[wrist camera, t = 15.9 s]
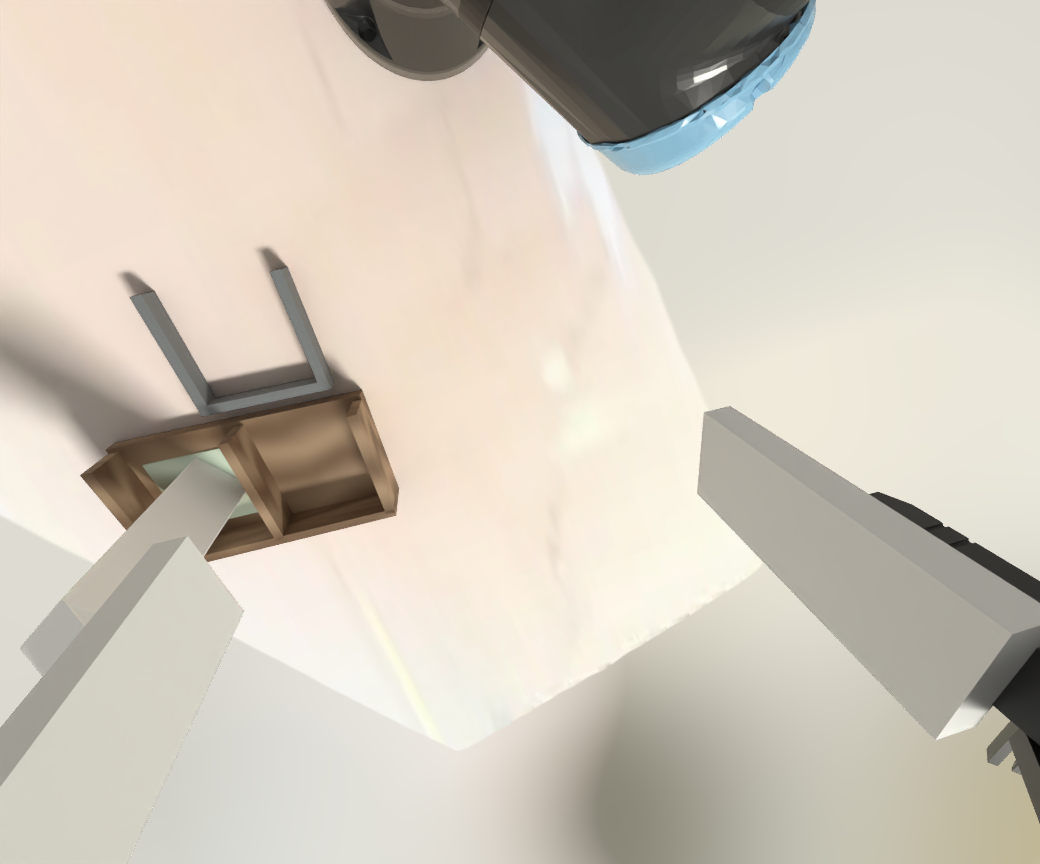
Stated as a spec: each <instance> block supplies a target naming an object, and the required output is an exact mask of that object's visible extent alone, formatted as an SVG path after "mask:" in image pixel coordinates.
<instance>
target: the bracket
mask: <svg viewBox="0 0 1040 864" xmlns="http://www.w3.org/2000/svg"><path fill="white" fill-rule="evenodd" d="M270 273H271V276H272V278H273V280H274V283H275V285H276V287H277V290H278V292H279V294H280V297H281V299H282V301H283V304H284V306H285V308H286V311H287V313H288V315H289V318H290V320H291V322H292V325H293V327H294V329H295V332H296V334H297V336H298V339H299V341H300V343H301V346H302V348H303V350H304V353H305V355H306V357H307V360H308V362H309V364H310V367H311V369H312V371H313V374H314V376H315V378H310V379H305V380H300V381H295V382H291V383H286V384H281V385H276V386H271V387H267V388H262V389H257V390H252V391H247V392H243V393H238V394H233V395H228V396H223V397H219V398H216V397H215V396H214V394H213V392H212V390H211V389H210V387H209V385H208V383H207V382H206V380H205V378H204V376H203V375H202V373H201V371H200V369H199V368H198V366H197V364H196V363H195V361H194V359H193V357H192V356H191V354H190V352H189V350H188V349H187V347H186V345H185V343H184V342H183V340H182V338H181V336H180V335H179V333H178V331H177V329H176V328H175V326H174V324H173V323H172V321H171V319H170V317H169V316H168V314H167V312H166V310H165V309H164V307H163V305H162V303H161V302H160V300H159V298H158V296H157V295H156V293H155V291H153V292H148V293H142V294H139V295H135V296H132V297H130V299H131V301H132V302H133V304H134V306H135V307H136V309H137V311H138V312H139V314H140V315H141V317H142V319H143V320H144V322H145V324H146V325H147V327H148V329H149V330H150V332H151V334H152V335H153V337H154V338H155V340H156V342H157V343H158V345H159V347H160V348H161V350H162V352H163V353H164V355H165V357H166V358H167V360H168V361H169V363H170V365H171V366H172V368H173V370H174V371H175V373H176V375H177V376H178V378H179V380H180V381H181V383H182V384H183V386H184V388H185V389H186V391H187V393H188V394H189V396H190V398H191V399H192V401H193V403H194V404H195V406H196V407H197V409H198V411H199V412H200V414H201V416H207V415H212V414H217V413H221V412H226V411H231V410H235V409H240V408H245V407H250V406H254V405H259V404H264V403H268V402H273V401H278V400H283V399H287V398H292V397H297V396H301V395H306V394H311V393H316V392H320V391H325V390H330V389H331V388H332V386H333V384H334V383H335V382H334V380H333V378H332V375H331V373H330V370H329V368H328V365H327V363H326V360H325V358H324V355H323V353H322V351H321V348H320V346H319V343H318V341H317V338H316V336H315V333H314V331H313V328H312V326H311V324H310V321H309V319H308V316H307V314H306V311H305V309H304V306H303V304H302V301H301V299H300V297H299V294H298V292H297V289H296V287H295V284H294V282H293V279H292V277H291V274H290V272H289V269H288V267H286V268H280V269H276V270H273V271H270Z"/></svg>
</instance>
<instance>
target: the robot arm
mask: <svg viewBox="0 0 1040 864" xmlns="http://www.w3.org/2000/svg"><path fill="white" fill-rule="evenodd" d="M326 2H327V4H328V6H329V8H330V10H331V12H332V13H333V15H334V17H335V18H336V20H337V21H338V23H339V24H340V26H341V27H342V29H343V30H344V31H345V33H346V34H347V35H348V36H349V38H350V39H351V40H352V41H353V42H354V43H355V44H356V45H357V46H358V47H359V48H360V49H361V50H362V51H363V52H364V53H365V54H366V55H367V56H368V57H369V58H371V59H372V60H373V61H375V62H376V63H377V64H379V65H380V66H382V67H384V68H385V69H387V70H389V71H391V72H393V73H395V74H397V75H400V76H403V77H406V78H410V79H414V80H421V81H435V80H442V79H446V78H449V77H452V76H455V75H457V74H459V73H461V72H463V71H464V70H466V69H467V68H469V67H470V66H471V65H473V64H474V63H475V62H476V61H477V60H478V59H479V58H480V57H481V56H482V55H483V54H484V52H485V51H486V50H487V48H488V47H489V48H490V49H491V50H492V51H493V52H494V53H495V54H496V55H498V56H499V57H500V58H501V59H502V60H503V61H504V62H505V63H506V64H507V65H508V66H509V67H510V68H511V69H512V70H513V71H514V72H516V73H517V74H518V75H519V76H520V77H521V78H522V79H523V80H524V81H525V82H526V83H527V84H528V85H529V86H530V87H531V88H533V89H534V90H535V91H536V92H537V93H538V94H539V95H540V96H541V97H542V98H543V99H544V100H545V101H546V102H547V103H548V104H549V105H551V106H552V107H553V108H554V109H555V110H556V111H557V112H558V113H559V114H560V115H561V116H562V117H563V118H564V119H565V120H566V121H567V122H569V123H570V124H571V125H572V126H573V127H574V128H575V129H576V130H577V133H578V136H579V137H580V139H581V140H582V141H583V142H584V143H585V144H586V145H587V146H590V147H592V148H593V149H595V150H599V151H600V152H601V153H602V154H603V155H605V156H606V157H607V158H608V159H610V160H611V161H612V162H613V163H614V164H615V165H617V166H618V167H619V168H620V169H622V170H624V171H627V172H629V173H632V174H638V175H649V174H655V173H659V172H662V171H665V170H668V169H670V168H673V167H675V166H677V165H679V164H681V163H683V162H685V161H687V160H688V159H690V158H692V157H694V156H695V155H697V154H699V153H700V152H702V151H703V150H705V149H706V148H707V147H709V146H710V145H711V144H713V143H714V142H716V141H717V140H718V139H720V138H721V137H722V136H724V135H725V134H726V133H727V132H729V131H730V130H731V129H732V128H733V127H734V126H736V125H737V124H738V123H739V122H740V121H741V120H742V119H743V118H744V117H745V116H747V114H749V113H750V112H751V110H753V105H754V101H755V99H756V98H758V97H759V96H761V95H762V94H763V93H765V92H767V91H769V90H771V89H773V88H774V86H775V85H776V84H777V83H778V82H779V80H780V79H781V78H782V77H783V76H784V74H785V73H786V72H787V70H788V69H789V68H790V67H791V65H792V63H793V62H794V61H795V59H796V58H797V56H798V54H799V53H800V51H801V49H802V47H803V46H804V44H805V42H806V40H807V39H808V37H809V34H810V31H811V28H812V25H813V22H814V18H815V12H816V8H815V2H816V0H326ZM697 494H698V495H699V496H700V497H701V498H702V499H703V500H704V501H705V502H706V503H707V504H708V505H709V506H710V507H711V508H712V509H713V510H714V511H715V512H716V513H717V514H718V515H719V516H720V517H721V519H722V520H723V521H724V522H725V523H726V524H727V525H728V526H729V527H730V528H731V529H732V530H733V531H734V532H735V533H736V534H737V535H738V536H739V537H740V538H741V539H742V540H743V541H744V542H745V543H746V544H747V545H748V547H749V548H750V549H751V550H752V551H753V552H754V553H755V554H756V555H757V556H758V557H759V558H760V559H761V560H762V561H763V562H764V563H765V564H766V565H767V566H768V567H769V568H770V569H771V570H772V571H773V572H774V573H775V574H776V576H777V577H778V578H779V579H780V580H781V581H782V582H783V583H784V584H785V585H786V586H787V587H788V588H789V589H790V590H791V591H792V592H793V593H794V594H795V595H796V596H797V597H798V598H799V599H800V600H801V601H802V602H803V604H804V605H805V606H806V607H807V608H808V609H809V610H810V611H811V612H812V613H813V614H814V615H815V616H816V617H817V618H818V619H819V620H820V621H821V622H822V623H823V624H824V625H825V626H826V627H827V628H828V629H829V631H830V632H831V633H832V634H833V635H834V636H835V637H836V638H837V639H838V640H839V641H840V642H841V643H842V644H843V645H844V646H845V647H846V648H847V649H848V650H849V651H850V652H851V653H852V654H853V655H854V656H855V657H856V658H857V660H859V662H860V663H861V664H862V665H863V666H864V667H865V668H866V669H867V670H868V671H869V672H870V673H871V674H872V675H873V676H874V677H875V678H876V679H877V680H878V681H879V682H880V683H881V684H882V685H883V687H884V688H885V689H886V690H887V691H889V693H890V694H891V695H892V696H893V697H894V698H895V699H896V700H897V701H898V702H899V703H900V704H901V705H902V706H903V707H904V708H905V709H906V710H907V711H908V712H909V713H910V714H911V716H912V717H913V718H914V719H915V720H916V721H917V722H918V723H919V724H920V725H921V726H922V727H923V728H924V729H925V730H926V731H927V732H928V733H929V734H930V735H931V736H932V737H933V738H934V739H935V740H937V739H940V738H943V737H946V736H949V735H952V734H955V733H958V732H960V731H963V730H966V729H969V728H972V727H975V726H977V725H978V724H979V722H980V721H981V720H982V719H983V717H984V716H985V715H986V714H987V712H988V711H989V710H990V709H991V707H992V706H995V707H996V708H997V709H998V710H999V711H1000V712H1002V713H1003V714H1004V715H1005V716H1006V717H1007V718H1008V719H1009V720H1011V721H1010V722H1009V723H1008V724H1007V725H1006V727H1005V728H1004V729H1003V730H1002V731H1001V732H1000V733H999V735H998V736H997V737H996V738H995V739H994V740H993V742H992V743H991V744H990V745H989V746H988V748H987V759H988V763H991V764H994V765H996V766H998V765H999V764H1000V763H1001V762H1002V761H1003V759H1005V758H1006V757H1007V756H1008V754H1009V753H1010V752H1011V751H1012V750H1013V753H1014V756H1015V758H1016V761H1015V762H1014V765H1013V767H1012V771H1013V772H1016V773H1018V774H1021V775H1022V777H1023V779H1024V782H1025V785H1026V788H1027V790H1028V793H1029V795H1030V798H1031V801H1032V803H1033V806H1034V809H1035V812H1036V814H1037V817H1038V820H1039V823H1040V581H1038V580H1037V579H1035V578H1033V577H1032V576H1030V575H1028V574H1027V573H1025V572H1023V571H1022V570H1020V569H1018V568H1017V567H1015V566H1013V565H1012V564H1010V563H1008V562H1006V561H1005V560H1003V559H1002V558H1000V557H999V556H997V555H995V554H994V553H992V552H990V551H989V550H987V549H985V548H984V547H982V546H980V545H979V544H977V543H970V542H969V540H968V538H967V537H965V536H964V535H962V534H960V533H958V532H957V531H955V530H953V529H952V528H950V527H944V526H943V523H942V522H940V521H939V520H937V519H935V518H934V517H932V516H930V515H928V514H927V513H925V512H923V511H922V510H920V509H918V508H917V507H915V506H914V505H912V504H909V503H906V502H904V501H901V500H898V499H896V498H893V497H890V496H888V495H885V494H883V493H880V492H876V493H872V494H868V493H866V492H865V491H863V490H861V489H860V488H858V487H857V486H855V485H854V484H852V483H850V482H849V481H847V480H846V479H844V478H843V477H841V476H839V475H838V474H836V473H835V472H833V471H832V470H830V469H828V468H827V467H825V466H823V465H822V464H820V463H819V462H817V461H816V460H814V459H812V458H811V457H809V456H808V455H806V454H805V453H803V452H802V451H800V450H799V449H797V448H795V447H794V446H792V445H791V444H789V443H788V442H786V441H784V440H783V439H781V438H780V437H778V436H776V435H775V434H773V433H772V432H770V431H769V430H767V429H765V428H764V427H762V426H761V425H759V424H757V423H756V422H754V421H753V420H751V419H750V418H748V417H747V416H745V415H743V414H742V413H740V412H739V411H737V410H735V409H734V408H732V407H731V406H729V407H725V408H720V409H716V410H712V411H708V412H704V418H703V430H702V442H701V454H700V466H699V478H698V490H697ZM243 612H244V610H243V609H242V607H241V606H240V605H239V604H238V602H237V601H236V600H235V598H234V597H233V596H232V594H231V593H230V592H229V590H228V589H227V588H226V586H225V585H224V584H223V582H222V581H221V580H220V578H219V577H218V576H217V574H216V573H215V572H214V570H213V569H212V568H211V566H210V565H209V564H208V562H207V561H206V560H205V558H204V557H203V556H202V554H201V553H200V552H199V550H198V549H197V548H196V546H195V545H194V544H193V542H192V541H191V540H190V538H189V537H188V536H185V537H180V538H176V539H172V540H168V541H164V542H160V543H155V544H153V545H152V546H151V547H150V548H149V550H148V551H147V552H146V553H145V554H144V556H143V557H142V558H141V559H140V560H139V562H138V563H137V564H136V565H135V566H134V568H133V569H132V570H131V571H130V572H129V574H128V575H127V576H126V577H125V578H124V580H123V581H122V582H121V583H120V584H119V586H118V587H117V588H116V589H115V590H114V592H113V593H112V594H111V595H110V596H109V598H108V599H107V600H106V601H105V602H104V604H103V605H102V606H101V607H100V608H99V610H98V611H97V612H96V613H95V614H94V616H93V617H92V618H91V619H90V620H89V622H88V623H87V624H86V625H85V627H84V628H83V629H82V630H81V631H80V633H79V634H78V635H77V636H76V637H75V639H74V640H73V641H72V642H71V643H70V645H69V646H68V647H67V648H66V649H65V651H64V652H63V653H62V654H61V655H60V657H59V658H58V659H57V660H56V661H55V663H54V664H53V665H52V666H51V667H50V669H49V670H48V671H47V672H46V673H45V675H44V676H43V677H42V678H41V679H40V681H39V682H38V683H37V684H36V685H35V687H34V688H33V689H32V690H31V692H30V693H29V694H28V695H27V696H26V698H25V699H24V700H23V701H22V702H21V704H20V705H19V706H18V707H17V708H16V710H15V711H14V712H13V713H12V714H11V716H10V717H9V718H8V719H7V720H6V722H5V723H4V724H3V725H2V726H1V728H0V864H128V862H129V859H130V857H131V855H132V853H133V851H134V848H135V846H136V844H137V842H138V840H139V837H140V836H141V833H142V831H143V829H144V827H145V825H146V823H147V820H148V818H149V816H150V813H151V812H152V809H153V807H154V805H155V803H156V801H157V799H158V797H159V794H160V792H161V790H162V788H163V786H164V783H165V781H166V779H167V777H168V775H169V773H170V771H171V768H172V766H173V764H174V762H175V760H176V758H177V755H178V753H179V751H180V749H181V747H182V744H183V742H184V740H185V738H186V736H187V734H188V732H189V729H190V727H191V725H192V723H193V721H194V719H195V716H196V714H197V712H198V710H199V708H200V706H201V703H202V701H203V699H204V697H205V695H206V692H207V690H208V688H209V686H210V684H211V682H212V679H213V677H214V675H215V673H216V671H217V669H218V667H219V664H220V662H221V660H222V658H223V655H224V653H225V651H226V649H227V647H228V645H229V643H230V640H231V638H232V636H233V634H234V632H235V630H236V628H237V625H238V623H239V621H240V619H241V617H242V615H243Z"/></svg>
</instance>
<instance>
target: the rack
mask: <svg viewBox="0 0 1040 864" xmlns="http://www.w3.org/2000/svg"><path fill="white" fill-rule="evenodd" d="M106 451H107V453H108V455H106V456H105V457H104V458H102V459H101V460H100V461H98V462H97V463H96V464H94V465H93V466H92V467H91V468H89V469H88V470H87V471H85V472H84V473H83V474H81V475H80V476H81V477H82V478H83V480H84V481H85V482H86V483H87V484H88V485H89V487H90V488H91V489H92V490H93V491H94V493H95V494H96V495H97V496H98V497H99V498H100V500H101V501H102V502H103V503H104V504H105V506H106V507H107V508H108V509H109V510H110V511H111V513H112V514H113V515H114V516H115V517H116V519H117V520H118V521H119V522H120V523H121V524H122V526H123V527H124V528H125V529H126V530H128V529H129V528H130V526H131V525H132V524H133V523H134V522H135V521H136V520H137V519H138V518H139V517H140V516H141V515H142V514H143V513H144V512H145V511H146V510H147V509H148V508H149V506H150V505H151V504H152V503H153V502H154V501H155V500H156V499H157V498H158V497H159V496H160V495H161V494H162V493H163V492H164V491H165V490H166V489H167V488H168V486H169V485H170V484H171V483H172V482H173V481H174V480H175V479H176V478H177V477H178V476H179V475H180V474H181V473H182V472H183V471H184V470H185V469H186V467H187V466H188V465H189V464H190V463H191V462H192V461H193V460H194V459H195V458H199V459H201V460H203V461H205V462H207V463H209V464H210V465H212V466H214V467H216V468H218V469H220V470H222V471H223V472H225V473H227V474H229V475H231V476H233V477H235V478H236V479H238V480H239V482H240V483H241V485H242V487H243V488H244V490H245V491H246V493H245V494H244V496H243V497H242V499H241V500H240V502H239V503H238V505H237V506H236V508H235V510H234V511H233V513H232V514H231V516H230V517H229V519H228V520H227V522H226V523H225V525H224V526H223V528H222V529H221V531H220V533H219V534H218V536H217V537H216V539H215V540H214V542H213V543H212V545H211V546H210V548H209V549H208V551H207V552H206V554H205V556H204V558H205V560H206V561H207V562H210V561H214V560H218V559H222V558H226V557H230V556H234V555H238V554H242V553H246V552H250V551H254V550H258V549H262V548H266V547H270V546H275V545H279V544H283V543H287V542H291V541H295V540H299V539H303V538H307V537H311V536H315V535H319V534H323V533H327V532H331V531H336V530H340V529H344V528H348V527H352V526H356V525H360V524H364V523H368V522H372V521H376V520H380V519H384V518H388V517H392V516H396V512H397V502H398V492H399V487H398V485H397V482H396V479H395V477H394V474H393V471H392V469H391V466H390V463H389V461H388V458H387V455H386V453H385V450H384V447H383V445H382V442H381V439H380V437H379V434H378V431H377V428H376V426H375V423H374V420H373V418H372V415H371V412H370V410H369V407H368V404H367V402H366V399H365V396H364V394H363V391H362V390H360V391H355V392H350V393H346V394H341V395H336V396H332V397H327V398H322V399H318V400H313V401H308V402H304V403H299V404H294V405H290V406H285V407H280V408H276V409H271V410H266V411H262V412H257V413H252V414H248V415H243V416H238V417H233V418H229V419H224V420H219V421H215V422H210V423H205V424H201V425H196V426H191V427H187V428H182V429H177V430H173V431H168V432H163V433H159V434H154V435H149V436H145V437H140V438H135V439H131V440H126V441H121V442H117V443H114V444H113V445H111V446H110V447H109V448H107V449H106Z"/></svg>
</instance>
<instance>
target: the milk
mask: <svg viewBox="0 0 1040 864" xmlns="http://www.w3.org/2000/svg"><path fill="white" fill-rule="evenodd" d="M245 493H246V491H245V490H244V488H243V487H242V485H241V483H240V482H239V480H238V479H236V478H235V477H233V476H231V475H229V474H227V473H225V472H223V471H222V470H220V469H218V468H216V467H214V466H212V465H210V464H209V463H207V462H205V461H203V460H201V459H199V458H195V459H194V460H193V461H192V462H191V463H190V464H189V465H188V466H187V467H186V469H185V470H184V471H183V472H182V473H181V474H180V475H179V476H178V477H177V478H176V479H175V480H174V481H173V482H172V483H171V484H170V485H169V486H168V488H167V489H166V490H165V491H164V492H163V493H162V494H161V495H160V496H159V497H158V498H157V499H156V500H155V501H154V502H153V503H152V504H151V505H150V506H149V508H148V509H147V510H146V511H145V512H144V513H143V514H142V515H141V516H140V517H139V518H138V519H137V520H136V521H135V522H134V523H133V524H132V525H131V526H130V528H129V529H128V530H127V531H126V532H125V533H124V534H123V535H122V536H121V537H120V538H119V539H118V540H117V541H116V542H115V543H114V544H113V545H112V546H111V548H110V549H109V550H108V551H107V552H106V553H105V554H104V555H103V556H102V557H101V558H100V559H99V560H98V561H97V562H96V563H95V564H94V565H93V566H92V568H91V569H90V570H89V571H88V572H87V573H86V574H85V575H84V576H83V577H82V578H81V579H80V580H79V581H78V582H77V583H76V584H75V585H74V587H73V588H72V589H71V590H70V591H69V592H68V593H67V594H66V595H65V596H64V597H63V598H62V599H61V600H60V602H59V603H58V604H57V605H56V606H55V608H53V610H52V611H51V612H50V613H49V615H48V616H47V617H46V618H45V619H44V620H43V621H42V622H41V624H40V625H39V626H38V627H37V628H36V630H35V631H34V632H33V633H32V634H31V635H30V636H29V638H28V639H27V640H26V641H25V642H24V643H23V645H22V646H21V648H20V649H21V651H22V652H23V653H24V654H25V656H26V657H27V658H28V659H29V661H30V662H31V663H32V664H33V665H34V667H35V668H36V669H37V670H38V671H39V673H40V674H41V675H42V676H44V675H45V673H46V672H47V671H48V670H49V669H50V667H51V666H52V665H53V664H54V663H55V661H56V660H57V659H58V658H59V657H60V655H61V654H62V653H63V652H64V651H65V649H66V648H67V647H68V646H69V645H70V643H71V642H72V641H73V640H74V639H75V637H76V636H77V635H78V634H79V633H80V631H81V630H82V629H83V628H84V627H85V625H86V624H87V623H88V622H89V620H90V619H91V618H92V617H93V616H94V614H95V613H96V612H97V611H98V610H99V608H100V607H101V606H102V605H103V604H104V602H105V601H106V600H107V599H108V598H109V596H110V595H111V594H112V593H113V592H114V590H115V589H116V588H117V587H118V586H119V584H120V583H121V582H122V581H123V580H124V578H125V577H126V576H127V575H128V574H129V572H130V571H131V570H132V569H133V568H134V566H135V565H136V564H137V563H138V562H139V560H140V559H141V558H142V557H143V556H144V554H145V553H146V552H147V551H148V550H149V548H150V547H151V546H152V545H153V544H155V543H160V542H164V541H168V540H172V539H176V538H180V537H185V536H188V537H189V538H190V540H191V541H192V542H193V544H194V545H195V546H196V548H197V549H198V550H199V552H200V553H201V554H202V556H203V557H204V556H205V554H206V552H207V551H208V549H209V548H210V546H211V545H212V543H213V542H214V540H215V539H216V537H217V536H218V534H219V533H220V531H221V529H222V528H223V526H224V525H225V523H226V522H227V520H228V519H229V517H230V516H231V514H232V513H233V511H234V510H235V508H236V506H237V505H238V503H239V502H240V500H241V499H242V497H243V496H244V494H245Z"/></svg>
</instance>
